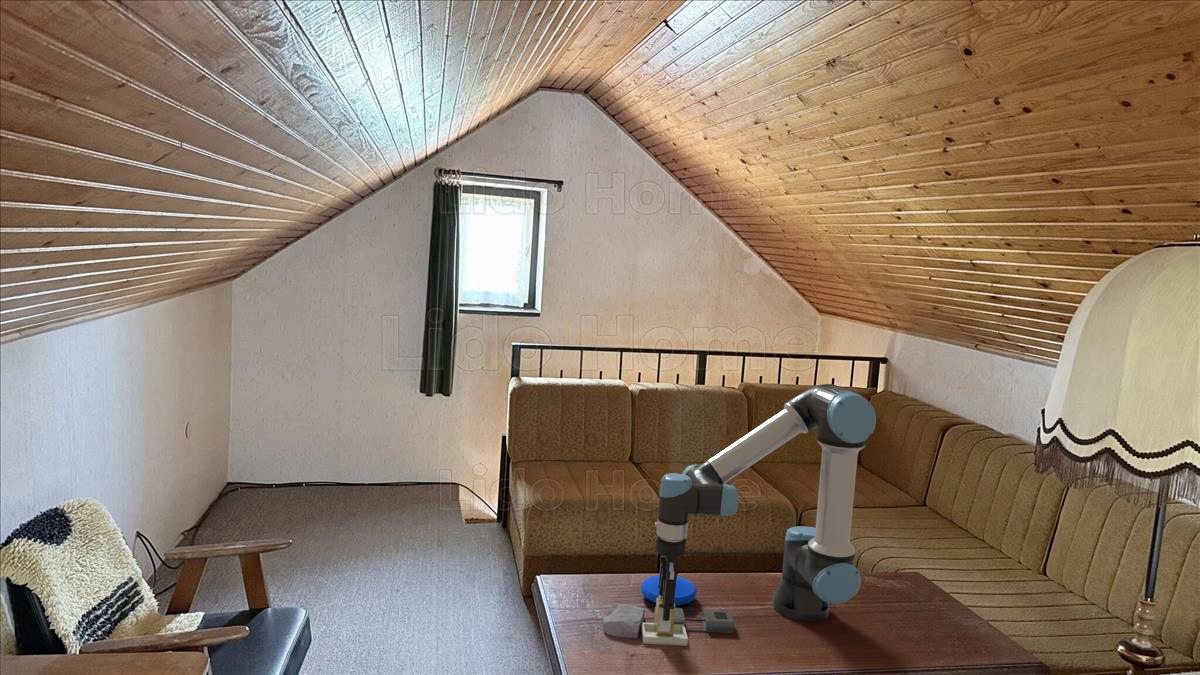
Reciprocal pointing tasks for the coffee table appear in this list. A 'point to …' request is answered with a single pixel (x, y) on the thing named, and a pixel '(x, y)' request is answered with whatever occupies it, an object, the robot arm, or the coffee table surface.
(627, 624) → the stone block
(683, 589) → the blue funnel disc
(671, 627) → the wooden drawer with knob
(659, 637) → the parts tray
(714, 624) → the rack rail
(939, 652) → the coffee table surface
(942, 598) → the coffee table surface
